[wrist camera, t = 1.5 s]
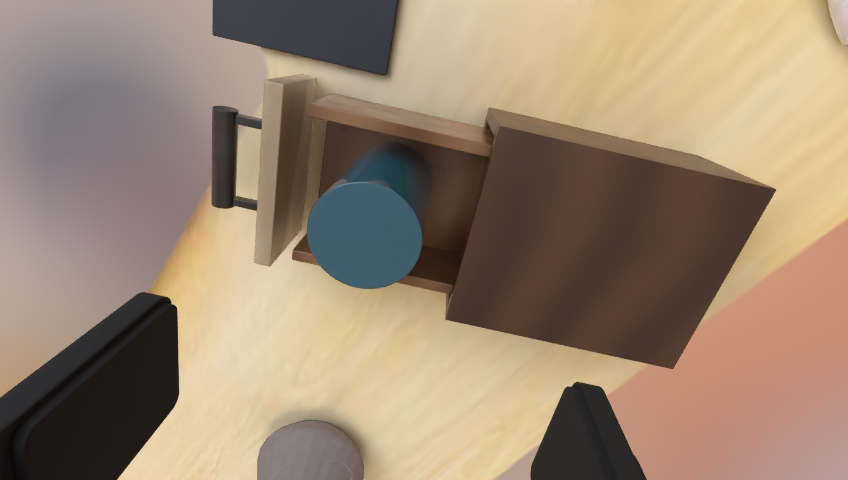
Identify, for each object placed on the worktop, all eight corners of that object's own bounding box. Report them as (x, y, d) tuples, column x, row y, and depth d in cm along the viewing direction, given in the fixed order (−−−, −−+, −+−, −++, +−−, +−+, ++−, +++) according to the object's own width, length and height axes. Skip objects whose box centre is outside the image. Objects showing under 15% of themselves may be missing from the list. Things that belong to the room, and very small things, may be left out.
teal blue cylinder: (356, 132, 32) (312, 169, 22) (440, 151, 33) (433, 197, 22) (342, 227, 36) (299, 296, 25) (418, 244, 36) (404, 319, 26)
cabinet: (447, 263, 39) (445, 319, 31) (488, 107, 33) (499, 125, 25) (628, 303, 39) (673, 369, 31) (699, 156, 33) (776, 189, 25)
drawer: (238, 216, 37) (194, 250, 31) (244, 60, 32) (192, 63, 26) (464, 266, 38) (466, 309, 31) (505, 121, 32) (518, 138, 26)
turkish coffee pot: (346, 493, 52) (307, 652, 38) (255, 457, 50) (181, 610, 37) (425, 369, 44) (411, 515, 30) (319, 323, 42) (255, 454, 28)
